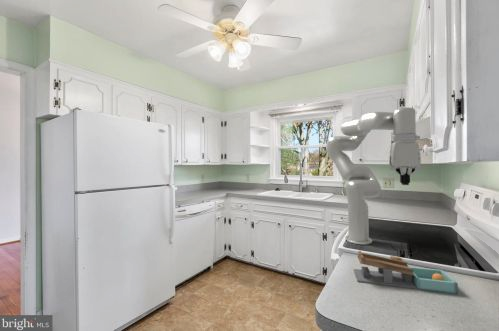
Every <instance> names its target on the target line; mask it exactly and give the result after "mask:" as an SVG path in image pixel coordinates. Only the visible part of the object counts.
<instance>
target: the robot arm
mask: <svg viewBox="0 0 499 331" xmlns="http://www.w3.org/2000/svg"><path fill="white" fill-rule="evenodd" d="M416 119H417V118H416V110H415V108H413V107H401V108H397V109H395V110H394V111H375V112H370V113H365V114H362V115H361V116H360V117H358V118H353V119H349V120H347V121H343V123H342V124H341V125H340V126H341V127H340V131H341V133H342V134H343V135H336V136H332V137H329V139H327V142H326V152H327V154H328V156H329V158H330V159H331V160H332V162H333V163H334V164H335V165H334V166H335V167H336V169H337V171H338V173H339V174H340V176H341V178H342V179H343V180H344V181H346V182H347V183H346V185H345V193H346V197H347V214H348V217H347V219H348V220H347V221H348V222H347V224H348V226H347V227H348V230H347V231H348V235H346V236H345V241H346V240H347V241H346V242H348V243H350V244H355V245H364V246H365V245H371V244H372V243H373V239H372V238H370V237H369V235H370V234H369V228H370V226H369V205H368V203H367V201H366V199H371V198H373V199H374V198H377V197H380V195H381V193H382V186H381V184H380V181H379V180H378V178H377V177H376V176H375V174H374V172H373V171H372V169H371V168H370V166H368V165H367V164H364V163H355V162H354V163H353V161H352V160H351V157H350V156H349V155H347V154H346V153H345V152H346V151H347V152H348V151H349V152H352V151H356V150H357V149H358V148H359V147H360V146H361V144H362V142H363V141H364V140H365V139H366V137H367V135H368V134H369V133H371V131H372V130H373V131H375V130H377V131H378V130H382V131H383V130H385V131H393V132H392V133H393V140H392V141H393V142H392V143H390V149H389V155H388V156H389V157H388V160H389V161H388V164H389V170H390V171H395V172H396V173H397V174H398V175H399V182H400V184H401V185H402V186H409V184H410V183H411V175H412V174H413V173H414V172H415V171H420V170H421V169H422V167H421V165H422V160H421V158H422V157H421V151H420V150H421V149H420V145H419V141H417V140H421V136H420V135H417V133H416V132H417V130H416V128H417V126H416V125H417V123H416ZM404 168H405V169H404Z"/></svg>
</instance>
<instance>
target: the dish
mask: <svg viewBox="0 0 499 331" xmlns="http://www.w3.org/2000/svg"><path fill="white" fill-rule="evenodd" d="M408 267H409V268H410V269H413V273H414V276H413V275H412V282H413V283H414V284H415V285H416V287H417V289H416V290H421V291H429V292H438V293H447V294H454V295H456V294H457V295H458V294H459V293H458V291H459V290H458V288H459V286H458V285H459V284H458V282H456V281H455V280H454V279H453V278H452V277H451V276H450V275H449V274H447V273H446V272H445V271H444V270H443V269H438V268H437V269H435V268H427V267H426V268H424V267H416V266H408ZM435 273H438V274H441V275H442V276H443V277H444V279H445V281H441V280H432V275H433V274H435Z"/></svg>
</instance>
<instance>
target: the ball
mask: <svg viewBox="0 0 499 331" xmlns="http://www.w3.org/2000/svg"><path fill="white" fill-rule="evenodd" d="M432 280H441V281H445V279H444V277H443V276H442V275H441V274H438V273H435V274H433V275H432Z"/></svg>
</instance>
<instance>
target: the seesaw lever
mask: <svg viewBox="0 0 499 331" xmlns="http://www.w3.org/2000/svg"><path fill="white" fill-rule="evenodd" d="M357 258H358V261H359V263H360V265H361V264H362V265H365V266H368V267H369V266H370V267H374V268H377V269H378V268H382V269H392V272H394V273H399V274H401V273H404V274H408V275H413V276H414V273H413V269H410V268H409V267H410V266H409V265H408V262H406V261H404V259H403V258H402V257H399V256H397V255H390V256H389V258H388V257H383V256H378V255H373V254H369V253H365V252H362V251H361V250H358V252H357Z"/></svg>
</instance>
